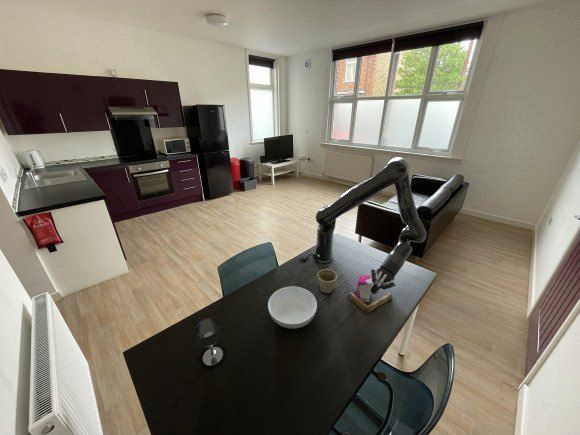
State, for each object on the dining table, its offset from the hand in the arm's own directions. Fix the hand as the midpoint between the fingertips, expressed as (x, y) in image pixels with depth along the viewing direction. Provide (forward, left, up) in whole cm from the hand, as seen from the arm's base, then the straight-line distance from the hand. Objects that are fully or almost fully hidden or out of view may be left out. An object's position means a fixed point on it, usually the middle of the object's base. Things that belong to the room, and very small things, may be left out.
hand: (372, 293), depth 110 cm
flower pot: (-21, +5, -5) cm, 22 cm away
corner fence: (0, +1, -4) cm, 4 cm away
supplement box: (-4, +1, -5) cm, 6 cm away
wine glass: (-63, -35, -5) cm, 72 cm away
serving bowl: (-36, -13, -5) cm, 38 cm away
